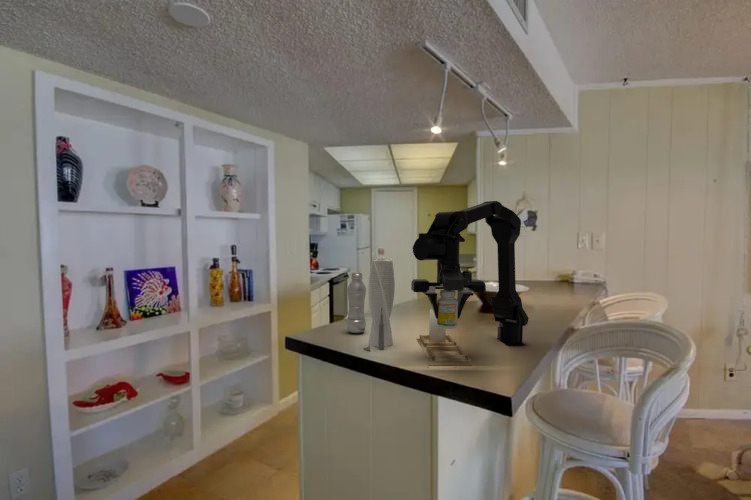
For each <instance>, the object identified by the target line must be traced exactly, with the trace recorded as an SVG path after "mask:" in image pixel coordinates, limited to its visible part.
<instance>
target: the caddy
mask: <svg viewBox="0 0 751 500" xmlns="http://www.w3.org/2000/svg"><path fill="white" fill-rule="evenodd" d="M416 340H417V341H416V342H417V343H418V344H419V345H418V346H419V347H420V348H421V350H422V352H423V353H424V355H425V357H426V358H427V360H428V362H473V361H472V359H471V358H470V357H469V355H468V354H467V353H466V352H465V351H464V350H463V349H462V347H461V346H460V345H458V344H457V342H456V341H455V340H454V339H453V338H452V336H450V335H448V334H446V340H445V342H429V334H419V338H416ZM429 366H430V367H431V366H432V367H438V366H439V367H448V366H449V367H452V366H453V367H458V366H459V367H464V366H465V367H466V366H467V367H470V366H473V364H428V367H429Z"/></svg>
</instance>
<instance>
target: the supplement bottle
mask: <svg viewBox="0 0 751 500" xmlns="http://www.w3.org/2000/svg"><path fill="white" fill-rule="evenodd" d="M439 290H440V291H439V296H440V297H438V298H437V307H438V319H437V325H438V327H440V328H444V329H446V330H447V329H450V330H452V329H457V327H458V325H459V324H458V320H459V319H458V301H457V297H456V291H457V290H451V291H446V290H444V289H439ZM455 297H456V298H455Z"/></svg>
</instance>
